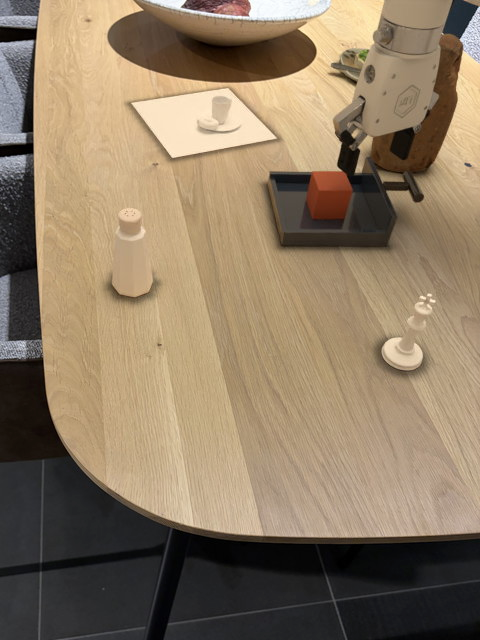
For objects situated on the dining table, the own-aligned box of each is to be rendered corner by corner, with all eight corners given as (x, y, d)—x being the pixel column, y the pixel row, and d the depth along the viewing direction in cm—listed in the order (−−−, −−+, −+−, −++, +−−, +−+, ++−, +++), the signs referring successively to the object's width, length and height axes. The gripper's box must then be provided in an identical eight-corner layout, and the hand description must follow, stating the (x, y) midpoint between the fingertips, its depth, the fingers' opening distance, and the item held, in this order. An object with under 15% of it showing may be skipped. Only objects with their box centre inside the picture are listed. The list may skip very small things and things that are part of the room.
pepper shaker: (150, 269, 82) (149, 199, 73) (155, 296, 78) (155, 226, 70) (110, 271, 81) (105, 201, 72) (113, 299, 77) (108, 228, 69)
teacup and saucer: (204, 137, 105) (205, 114, 102) (186, 116, 109) (187, 93, 106) (248, 129, 107) (251, 107, 104) (229, 108, 112) (231, 86, 109)
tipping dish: (393, 186, 98) (405, 153, 94) (422, 246, 88) (436, 213, 84) (267, 184, 96) (272, 151, 92) (281, 245, 87) (288, 211, 82)
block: (366, 168, 101) (403, 42, 86) (368, 146, 106) (403, 22, 91) (431, 179, 100) (481, 53, 85) (430, 156, 105) (477, 33, 90)
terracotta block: (337, 199, 93) (344, 171, 90) (344, 219, 90) (353, 190, 86) (305, 200, 93) (311, 170, 89) (312, 219, 90) (319, 190, 86)
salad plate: (334, 92, 119) (340, 68, 115) (321, 53, 130) (326, 30, 127) (430, 96, 120) (439, 73, 116) (409, 58, 131) (416, 35, 128)
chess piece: (387, 335, 76) (412, 274, 68) (425, 349, 75) (456, 289, 67) (376, 361, 73) (402, 300, 65) (416, 376, 72) (447, 316, 64)
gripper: (373, 58, 68) (340, 191, 81) (482, 34, 74) (435, 162, 87) (332, 33, 72) (307, 164, 85) (438, 12, 78) (400, 138, 91)
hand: (372, 163), depth 86 cm, fingers open, 9 cm apart
